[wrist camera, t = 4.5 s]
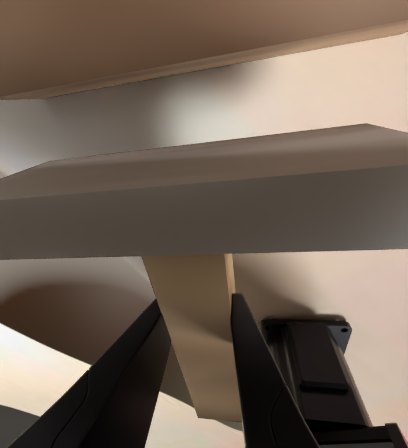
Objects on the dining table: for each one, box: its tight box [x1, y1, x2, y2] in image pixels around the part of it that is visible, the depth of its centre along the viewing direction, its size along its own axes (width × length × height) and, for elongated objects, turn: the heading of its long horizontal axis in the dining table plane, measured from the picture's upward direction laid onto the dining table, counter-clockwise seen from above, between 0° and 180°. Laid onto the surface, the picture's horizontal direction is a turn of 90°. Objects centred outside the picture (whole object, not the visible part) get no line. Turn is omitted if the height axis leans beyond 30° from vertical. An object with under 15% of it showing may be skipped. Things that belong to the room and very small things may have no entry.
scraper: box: [0, 124, 408, 423], centre depth 9 cm, size 14×11×4 cm
